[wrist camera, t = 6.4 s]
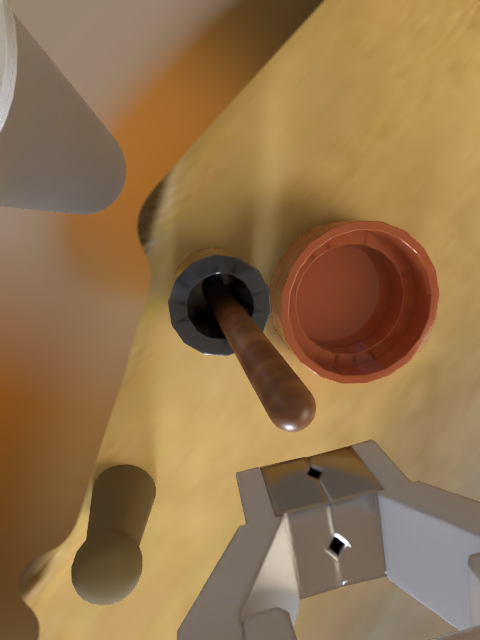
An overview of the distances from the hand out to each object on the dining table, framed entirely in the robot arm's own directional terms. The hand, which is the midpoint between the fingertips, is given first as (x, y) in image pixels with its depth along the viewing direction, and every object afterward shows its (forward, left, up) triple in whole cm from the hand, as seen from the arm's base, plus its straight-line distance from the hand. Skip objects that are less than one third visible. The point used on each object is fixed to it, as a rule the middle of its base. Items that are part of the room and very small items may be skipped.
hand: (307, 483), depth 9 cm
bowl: (+11, +3, -30) cm, 32 cm away
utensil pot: (0, 0, -30) cm, 30 cm away
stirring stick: (0, 0, -29) cm, 29 cm away
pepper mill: (-2, -22, -30) cm, 37 cm away
